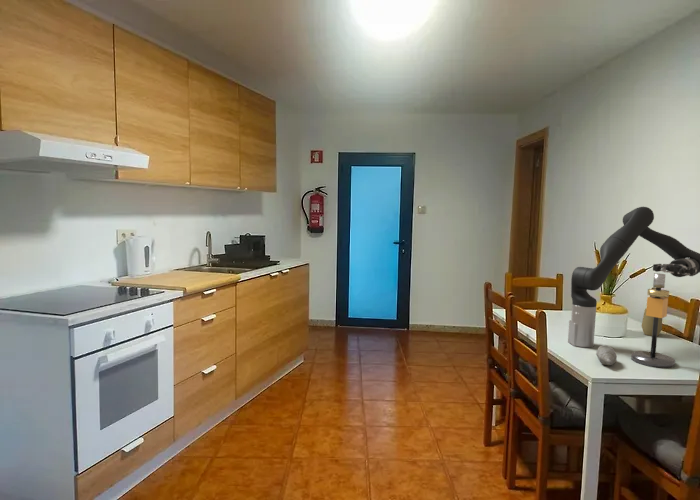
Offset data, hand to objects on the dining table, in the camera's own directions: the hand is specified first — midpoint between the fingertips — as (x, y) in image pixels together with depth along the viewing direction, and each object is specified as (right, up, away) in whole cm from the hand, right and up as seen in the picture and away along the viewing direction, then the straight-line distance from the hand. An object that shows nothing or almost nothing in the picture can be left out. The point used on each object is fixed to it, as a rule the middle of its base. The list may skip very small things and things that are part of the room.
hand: (668, 270), depth 185 cm
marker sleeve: (-12, -17, -10) cm, 23 cm away
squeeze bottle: (+13, -32, +30) cm, 45 cm away
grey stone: (-31, -35, -11) cm, 48 cm away
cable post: (-12, -35, -8) cm, 38 cm away
